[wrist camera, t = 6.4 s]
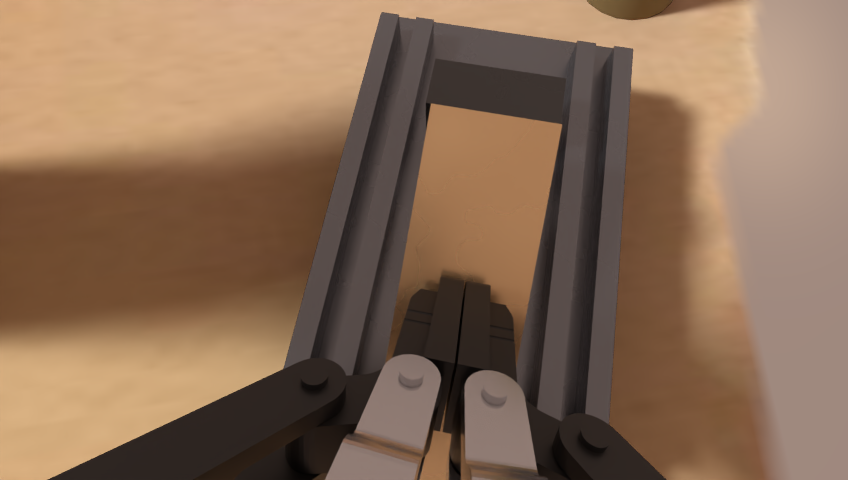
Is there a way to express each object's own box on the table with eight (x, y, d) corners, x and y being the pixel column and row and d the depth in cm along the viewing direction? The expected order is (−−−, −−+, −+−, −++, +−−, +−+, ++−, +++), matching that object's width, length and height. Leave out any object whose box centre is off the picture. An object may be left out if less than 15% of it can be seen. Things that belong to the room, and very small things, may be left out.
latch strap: (360, 527, 15) (350, 557, 14) (433, 114, 14) (430, 102, 13) (473, 552, 15) (475, 586, 13) (552, 133, 14) (563, 123, 13)
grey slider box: (292, 442, 19) (218, 483, 12) (388, 69, 25) (372, -43, 18) (563, 501, 18) (641, 579, 12) (599, 101, 24) (665, -3, 17)
